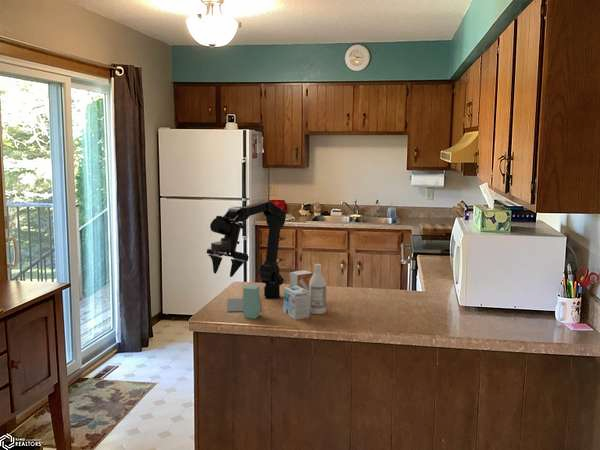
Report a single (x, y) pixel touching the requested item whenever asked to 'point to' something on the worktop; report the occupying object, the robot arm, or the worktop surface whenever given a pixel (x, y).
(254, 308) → the teal block
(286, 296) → the light bulb box
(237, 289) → the worktop surface
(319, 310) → the bath foam
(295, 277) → the small box
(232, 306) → the mat
